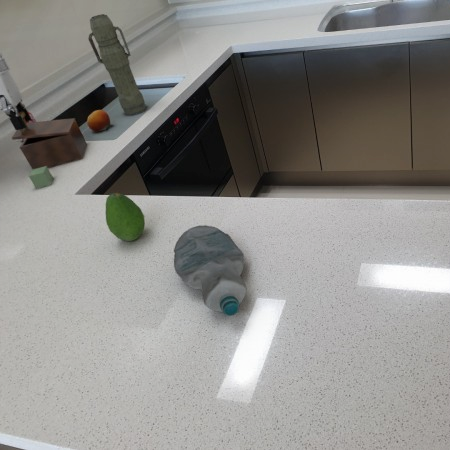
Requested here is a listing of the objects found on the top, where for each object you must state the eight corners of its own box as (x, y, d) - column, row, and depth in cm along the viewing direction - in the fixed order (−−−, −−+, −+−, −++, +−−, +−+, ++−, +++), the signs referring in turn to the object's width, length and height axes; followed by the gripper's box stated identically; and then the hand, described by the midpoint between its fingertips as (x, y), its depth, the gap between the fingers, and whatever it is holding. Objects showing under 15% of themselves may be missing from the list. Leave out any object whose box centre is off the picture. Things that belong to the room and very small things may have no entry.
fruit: (109, 128, 165) (91, 111, 162) (97, 140, 168) (79, 124, 165) (119, 119, 171) (102, 102, 168) (108, 130, 175) (91, 115, 172)
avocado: (129, 251, 101) (107, 207, 94) (110, 242, 106) (87, 199, 99) (158, 231, 106) (138, 187, 99) (138, 223, 110) (118, 180, 104)
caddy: (33, 172, 148) (19, 147, 143) (41, 156, 158) (28, 132, 153) (82, 158, 150) (70, 134, 145) (87, 144, 160) (75, 120, 155)
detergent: (172, 260, 96) (194, 340, 76) (163, 231, 92) (184, 308, 72) (233, 241, 99) (269, 314, 79) (227, 213, 95) (263, 282, 75)
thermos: (120, 111, 182) (80, 18, 162) (149, 103, 185) (114, 10, 165) (121, 118, 175) (80, 22, 155) (151, 109, 178) (114, 13, 158)
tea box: (35, 188, 137) (28, 176, 135) (39, 182, 141) (31, 169, 138) (50, 184, 138) (43, 172, 135) (53, 178, 141) (46, 165, 139)
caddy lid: (12, 139, 141) (6, 122, 138) (22, 125, 151) (16, 108, 148) (69, 134, 145) (64, 116, 142) (75, 120, 155) (70, 104, 152)
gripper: (-11, 63, 142) (18, 118, 152) (-30, 79, 128) (4, 138, 138) (14, 58, 143) (41, 113, 153) (-2, 73, 129) (30, 132, 139)
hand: (23, 124), depth 146 cm, fingers closed on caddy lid, 6 cm apart
